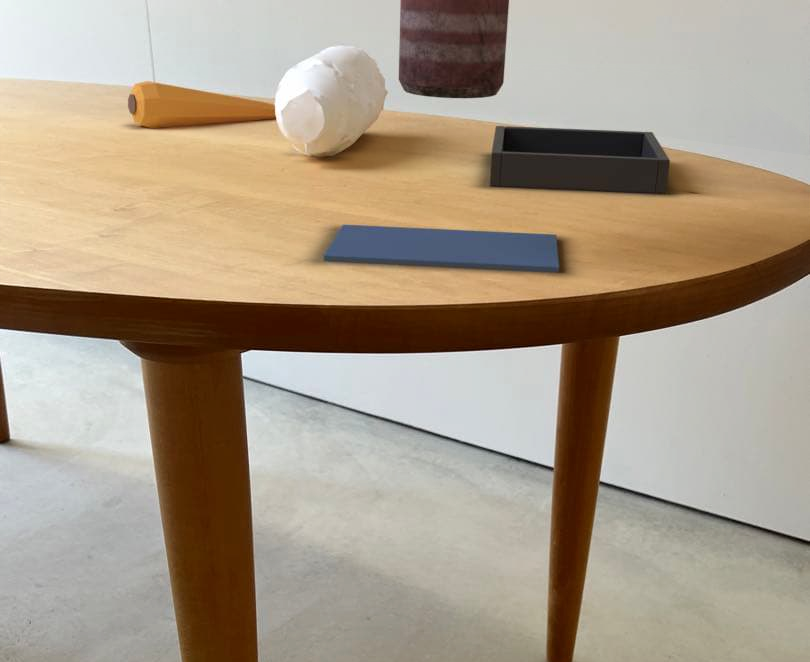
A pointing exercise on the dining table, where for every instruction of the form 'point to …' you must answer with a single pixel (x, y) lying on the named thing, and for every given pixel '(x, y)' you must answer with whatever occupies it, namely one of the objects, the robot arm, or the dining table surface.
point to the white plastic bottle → (329, 100)
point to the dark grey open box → (578, 160)
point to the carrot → (190, 106)
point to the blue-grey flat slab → (445, 248)
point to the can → (452, 47)
